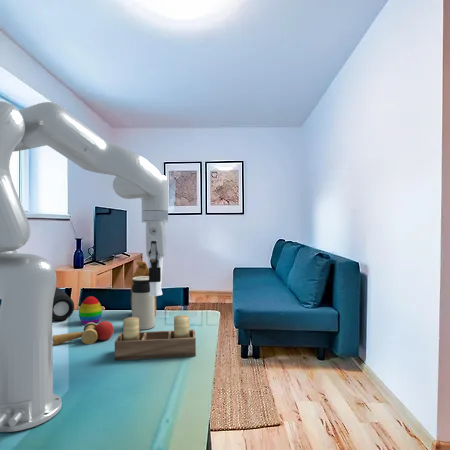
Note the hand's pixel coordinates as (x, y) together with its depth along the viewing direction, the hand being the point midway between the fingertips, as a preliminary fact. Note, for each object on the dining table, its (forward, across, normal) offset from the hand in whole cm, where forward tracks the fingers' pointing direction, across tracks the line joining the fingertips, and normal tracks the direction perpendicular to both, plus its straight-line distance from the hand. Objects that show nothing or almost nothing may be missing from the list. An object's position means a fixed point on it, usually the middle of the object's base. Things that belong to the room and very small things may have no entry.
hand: (155, 279), depth 99 cm
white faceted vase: (+5, 0, 0) cm, 5 cm away
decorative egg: (+21, +35, +28) cm, 50 cm away
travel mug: (+21, +26, +7) cm, 34 cm away
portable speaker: (+22, +49, +45) cm, 70 cm away
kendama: (+22, +13, +24) cm, 35 cm away
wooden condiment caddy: (+21, 0, 0) cm, 21 cm away
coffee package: (+21, +43, +9) cm, 49 cm away
